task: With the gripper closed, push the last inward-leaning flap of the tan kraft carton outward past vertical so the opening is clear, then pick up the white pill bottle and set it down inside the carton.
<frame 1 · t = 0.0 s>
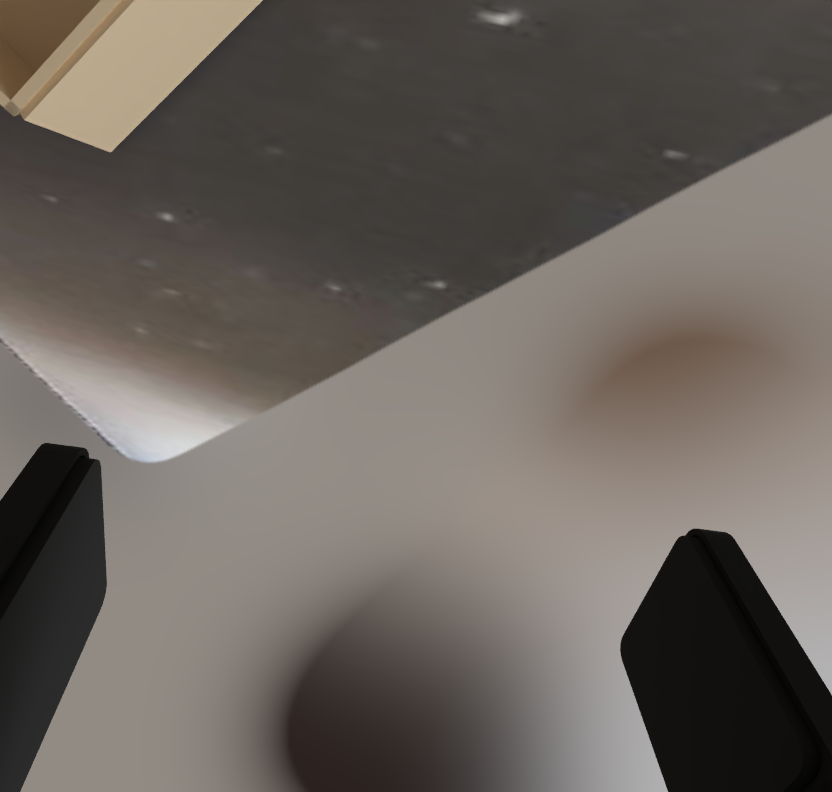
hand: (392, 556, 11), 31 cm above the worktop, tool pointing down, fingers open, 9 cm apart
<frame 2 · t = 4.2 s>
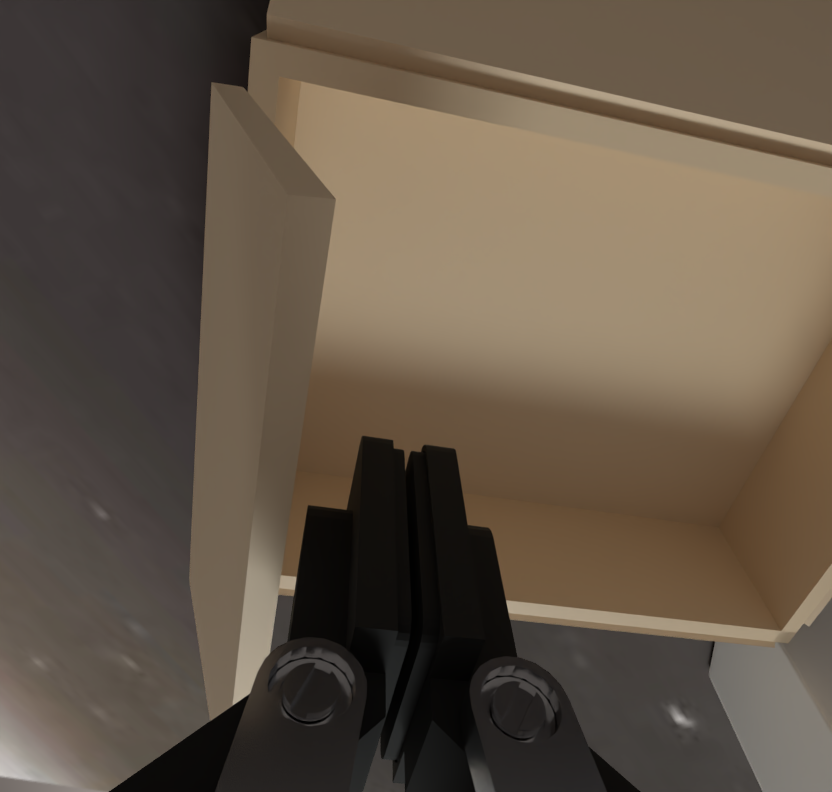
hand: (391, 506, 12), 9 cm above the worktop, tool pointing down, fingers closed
carton: (552, 332, 20), on the worktop
flap: (231, 469, 12), point 8 cm above the worktop, hinge at -19.4°, touching gripper
milk carton: (801, 603, 27), on the worktop
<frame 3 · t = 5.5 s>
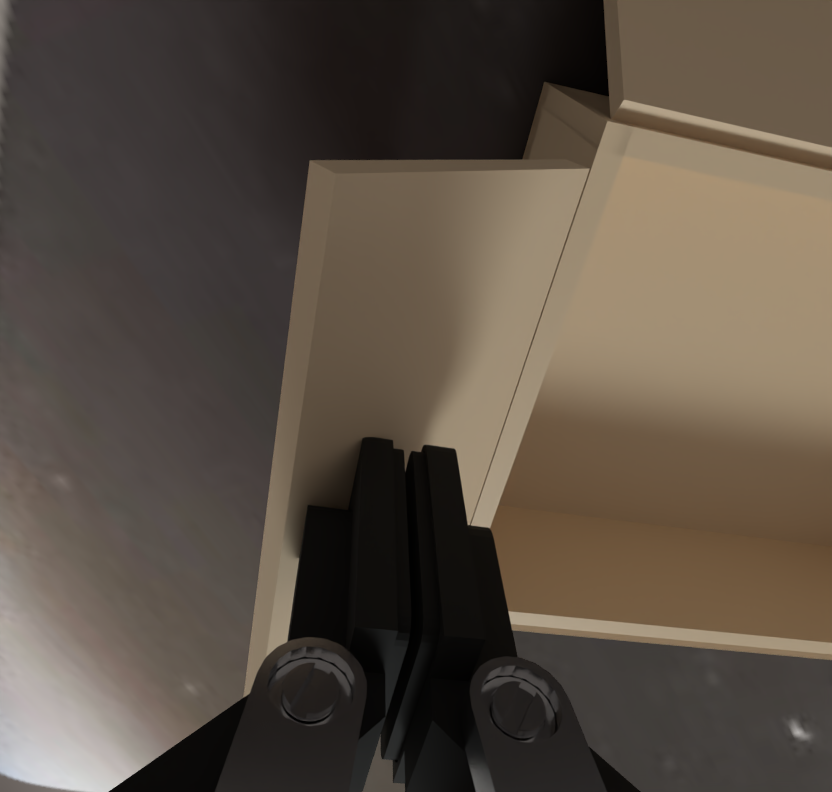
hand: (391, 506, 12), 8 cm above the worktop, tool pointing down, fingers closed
carton: (741, 369, 21), on the worktop
flap: (397, 476, 13), point 7 cm above the worktop, hinge at 49.3°, touching gripper
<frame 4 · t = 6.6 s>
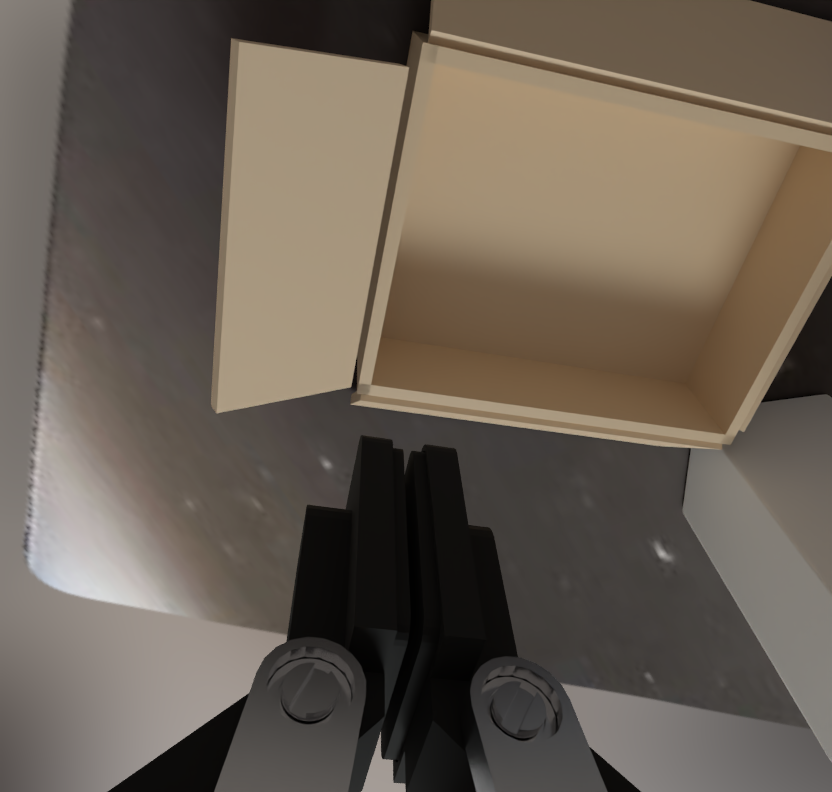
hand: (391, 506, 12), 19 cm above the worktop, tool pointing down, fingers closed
carton: (570, 237, 30), on the worktop
flap: (303, 247, 22), point 7 cm above the worktop, hinge at 57.5°
milk carton: (748, 451, 37), on the worktop
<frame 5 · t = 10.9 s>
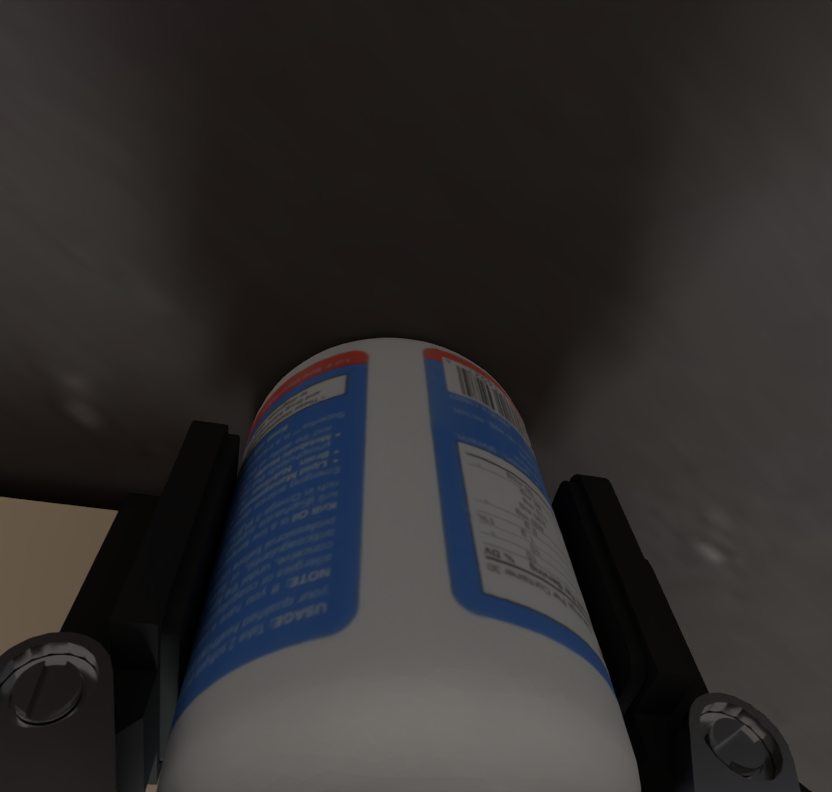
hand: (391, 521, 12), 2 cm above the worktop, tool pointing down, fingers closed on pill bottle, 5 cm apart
pill bottle: (391, 444, 13), on the worktop, touching gripper
when the fingers open (5 cm above the worktop, at t = 16.3 s): pill bottle drops 2 cm, resting on carton.
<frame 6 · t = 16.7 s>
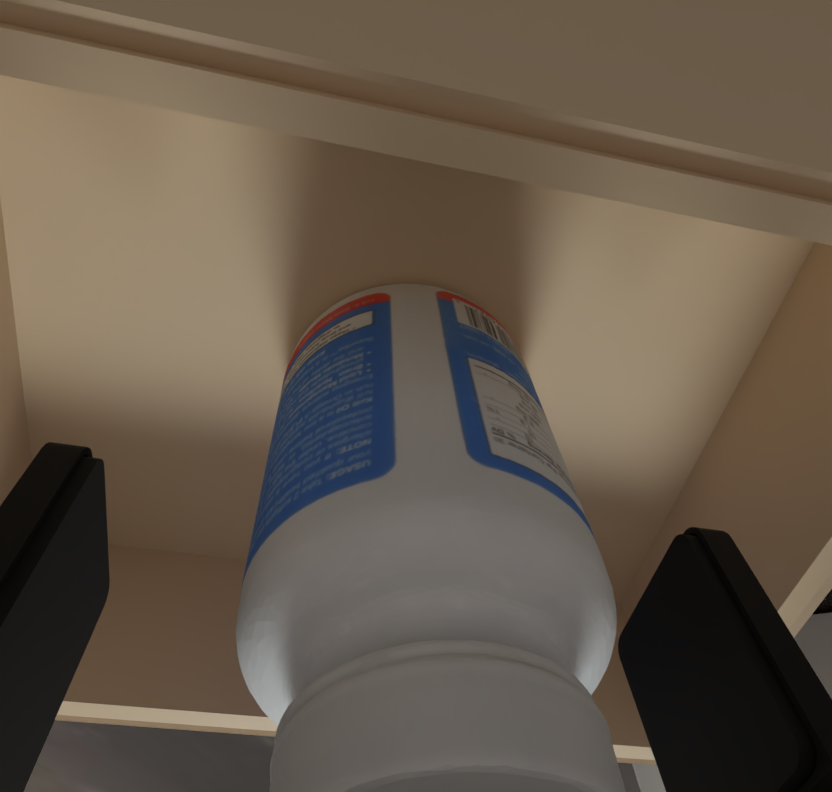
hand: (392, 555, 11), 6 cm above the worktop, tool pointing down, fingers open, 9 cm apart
carton: (388, 374, 16), on the worktop
pill bottle: (407, 382, 15), resting on carton
milk carton: (734, 678, 23), on the worktop
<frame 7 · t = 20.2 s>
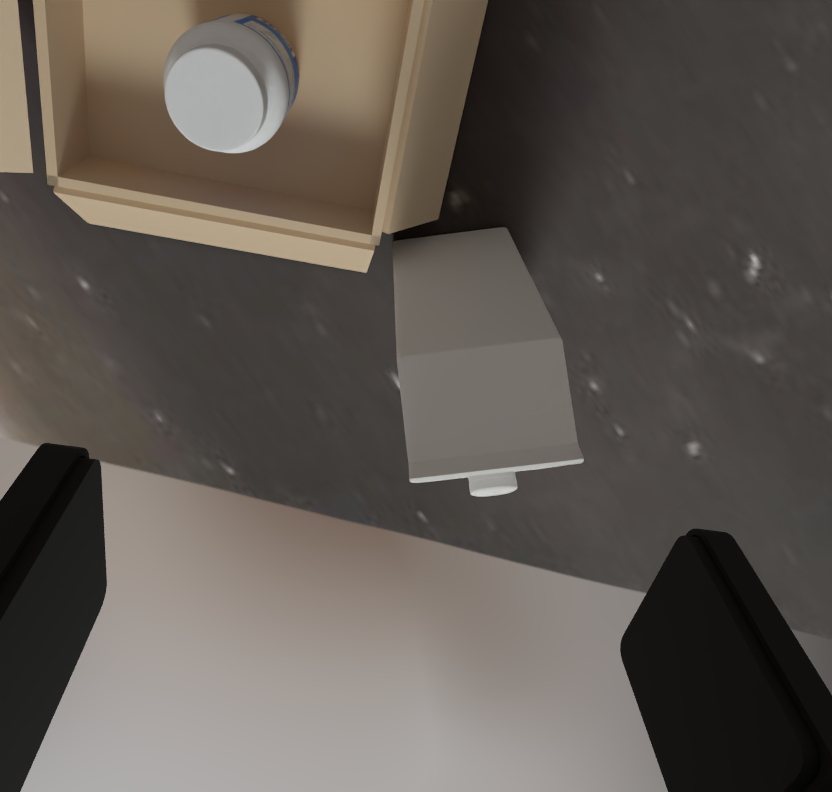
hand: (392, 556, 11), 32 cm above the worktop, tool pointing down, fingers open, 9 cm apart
carton: (244, 70, 36), on the worktop
pill bottle: (251, 70, 36), resting on carton
milk carton: (453, 284, 43), on the worktop
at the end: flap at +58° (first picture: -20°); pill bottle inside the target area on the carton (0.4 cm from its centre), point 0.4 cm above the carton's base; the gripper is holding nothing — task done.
